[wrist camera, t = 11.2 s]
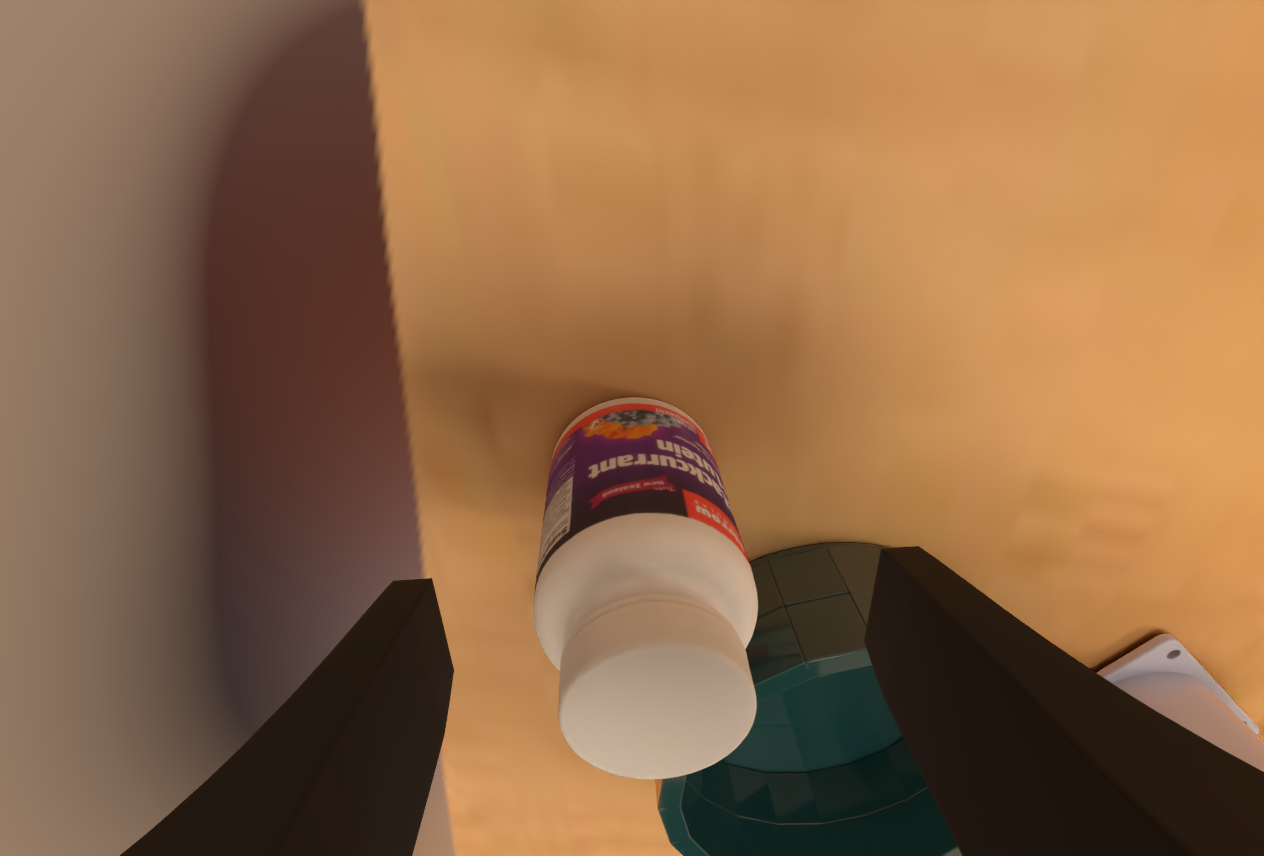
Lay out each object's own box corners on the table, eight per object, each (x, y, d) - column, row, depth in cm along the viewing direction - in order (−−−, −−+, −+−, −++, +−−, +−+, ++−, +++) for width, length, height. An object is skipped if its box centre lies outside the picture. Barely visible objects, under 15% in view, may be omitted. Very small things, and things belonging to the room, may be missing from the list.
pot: (1026, 548, 24) (1125, 651, 19) (920, 776, 30) (976, 894, 26) (667, 535, 23) (685, 643, 18) (634, 776, 29) (642, 899, 25)
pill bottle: (736, 415, 21) (841, 648, 12) (680, 544, 23) (734, 816, 14) (573, 371, 20) (560, 592, 11) (532, 511, 22) (495, 783, 13)
